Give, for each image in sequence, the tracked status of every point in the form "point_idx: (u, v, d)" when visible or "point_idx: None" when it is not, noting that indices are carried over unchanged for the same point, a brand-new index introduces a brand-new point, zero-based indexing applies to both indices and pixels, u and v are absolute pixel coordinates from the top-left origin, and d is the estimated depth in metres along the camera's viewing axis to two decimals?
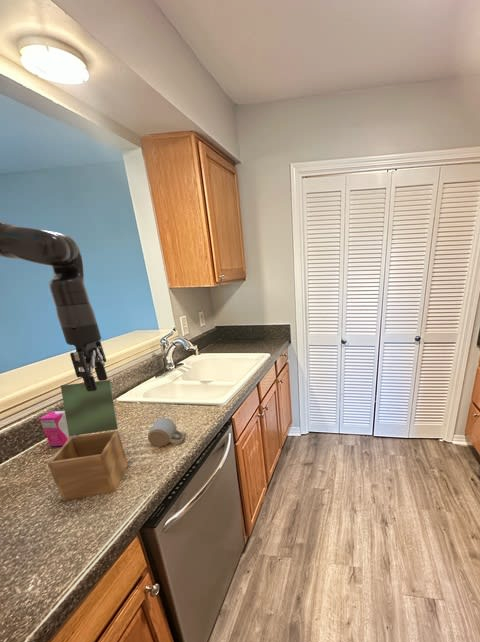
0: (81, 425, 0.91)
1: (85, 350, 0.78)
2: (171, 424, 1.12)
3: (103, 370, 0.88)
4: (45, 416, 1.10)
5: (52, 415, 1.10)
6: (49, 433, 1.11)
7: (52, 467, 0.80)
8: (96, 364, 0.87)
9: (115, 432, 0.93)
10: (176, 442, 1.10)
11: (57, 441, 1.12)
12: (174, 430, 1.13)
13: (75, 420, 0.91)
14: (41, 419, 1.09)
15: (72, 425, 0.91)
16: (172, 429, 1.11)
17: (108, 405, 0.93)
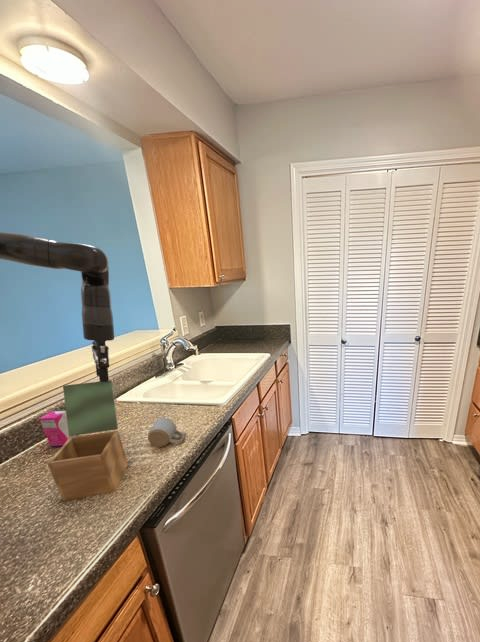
0: (81, 425, 0.92)
1: (105, 345, 0.91)
2: (171, 424, 1.12)
3: None
4: (45, 416, 1.10)
5: (52, 415, 1.10)
6: (49, 433, 1.11)
7: (52, 467, 0.80)
8: None
9: (115, 432, 0.93)
10: (176, 442, 1.10)
11: (57, 441, 1.12)
12: (174, 430, 1.13)
13: (76, 420, 0.91)
14: (41, 419, 1.09)
15: (72, 425, 0.91)
16: (172, 429, 1.11)
17: (109, 405, 0.93)
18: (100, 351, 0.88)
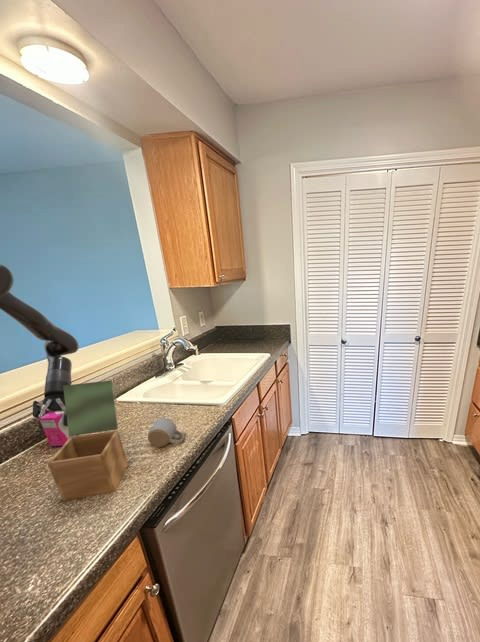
0: (81, 425, 0.92)
1: None
2: (171, 424, 1.12)
3: None
4: (46, 416, 1.10)
5: (52, 415, 1.10)
6: (49, 433, 1.11)
7: (52, 467, 0.80)
8: None
9: (115, 432, 0.93)
10: (176, 442, 1.10)
11: (57, 441, 1.12)
12: (174, 430, 1.13)
13: (76, 420, 0.91)
14: (41, 419, 1.09)
15: (72, 425, 0.91)
16: (172, 429, 1.11)
17: (109, 405, 0.93)
18: None
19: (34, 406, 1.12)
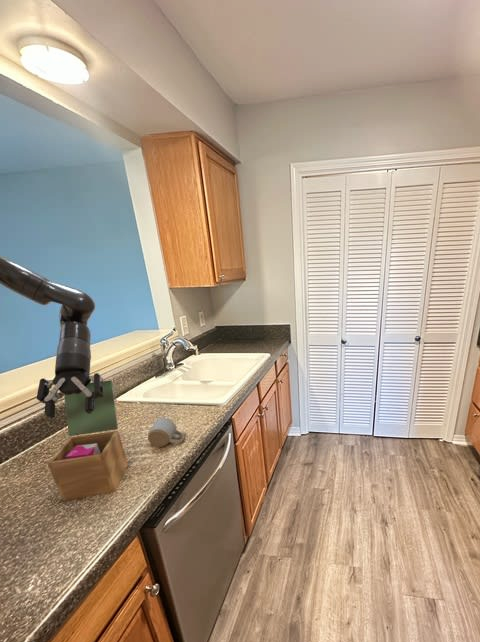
0: (81, 425, 0.92)
1: None
2: (171, 424, 1.12)
3: (54, 407, 0.81)
4: (73, 452, 0.85)
5: (82, 451, 0.85)
6: None
7: (52, 467, 0.80)
8: (51, 399, 0.81)
9: (115, 432, 0.93)
10: (176, 442, 1.10)
11: None
12: (174, 430, 1.13)
13: (76, 420, 0.91)
14: (69, 457, 0.83)
15: (72, 425, 0.91)
16: (172, 429, 1.11)
17: (109, 405, 0.93)
18: (100, 378, 0.85)
19: (40, 386, 0.81)
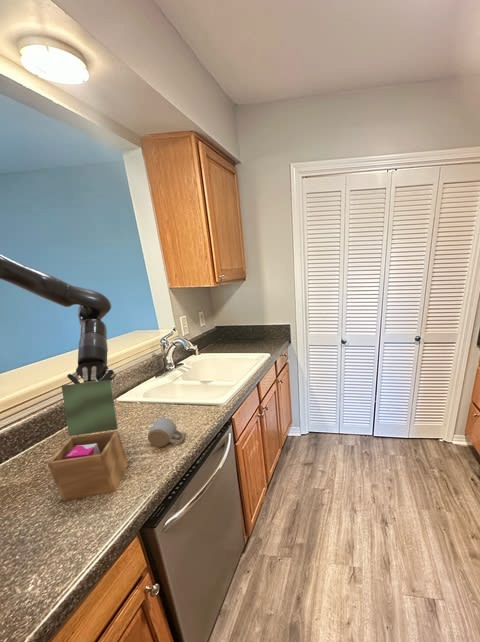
0: (81, 425, 0.92)
1: None
2: (171, 424, 1.12)
3: None
4: (73, 452, 0.85)
5: (82, 451, 0.85)
6: None
7: (52, 467, 0.80)
8: None
9: (115, 432, 0.93)
10: (176, 442, 1.10)
11: None
12: (174, 430, 1.13)
13: (75, 420, 0.91)
14: (68, 457, 0.83)
15: (72, 425, 0.91)
16: (172, 429, 1.11)
17: (108, 405, 0.93)
18: (111, 375, 0.97)
19: (72, 379, 0.94)
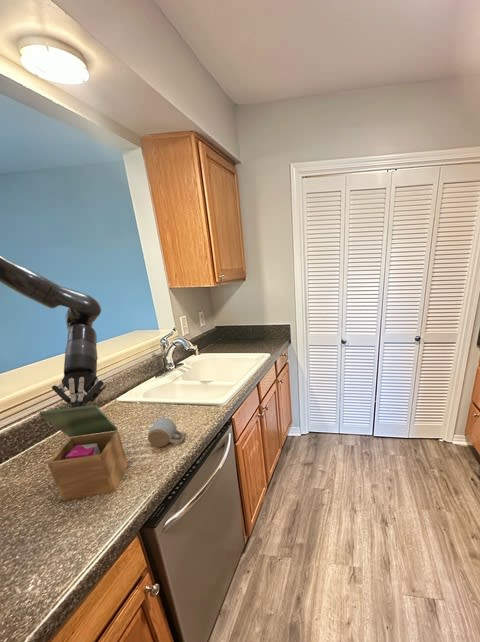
0: (79, 431, 0.90)
1: None
2: (171, 424, 1.12)
3: None
4: (73, 452, 0.85)
5: (82, 451, 0.85)
6: None
7: (52, 467, 0.80)
8: (76, 400, 0.86)
9: (115, 432, 0.93)
10: (176, 442, 1.10)
11: None
12: (174, 430, 1.13)
13: (71, 430, 0.88)
14: (68, 457, 0.83)
15: (69, 432, 0.89)
16: (172, 429, 1.11)
17: (102, 420, 0.87)
18: (100, 387, 0.88)
19: (57, 391, 0.85)
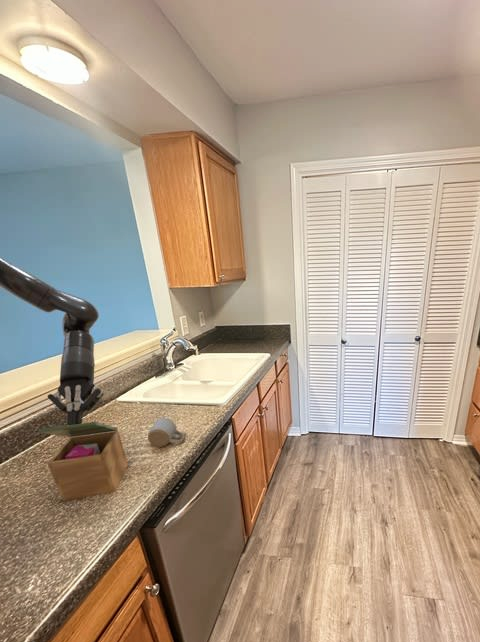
0: (79, 434, 0.89)
1: None
2: (171, 424, 1.12)
3: None
4: (73, 452, 0.85)
5: (82, 451, 0.85)
6: None
7: (52, 467, 0.80)
8: (73, 409, 0.83)
9: (115, 432, 0.93)
10: (176, 442, 1.10)
11: None
12: (174, 430, 1.13)
13: (71, 434, 0.88)
14: (68, 457, 0.83)
15: (69, 435, 0.89)
16: (172, 429, 1.11)
17: (102, 428, 0.86)
18: (98, 395, 0.85)
19: (53, 400, 0.83)
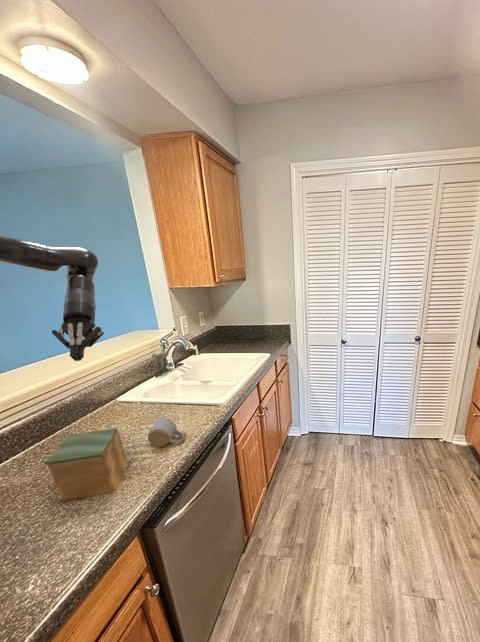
0: None
1: None
2: (171, 424, 1.12)
3: None
4: None
5: None
6: None
7: (52, 467, 0.80)
8: (75, 344, 0.89)
9: None
10: (176, 442, 1.10)
11: None
12: (174, 430, 1.13)
13: None
14: None
15: None
16: (172, 429, 1.11)
17: None
18: (98, 332, 0.91)
19: (57, 335, 0.89)
